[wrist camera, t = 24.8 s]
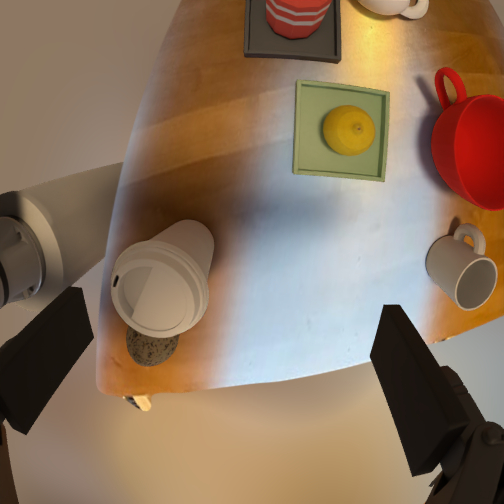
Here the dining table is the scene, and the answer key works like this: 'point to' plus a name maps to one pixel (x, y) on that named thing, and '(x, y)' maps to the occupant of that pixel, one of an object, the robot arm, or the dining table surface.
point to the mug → (396, 7)
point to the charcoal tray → (277, 46)
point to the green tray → (312, 137)
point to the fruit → (349, 130)
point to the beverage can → (295, 16)
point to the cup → (463, 268)
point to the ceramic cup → (470, 144)
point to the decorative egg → (149, 347)
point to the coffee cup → (164, 280)
